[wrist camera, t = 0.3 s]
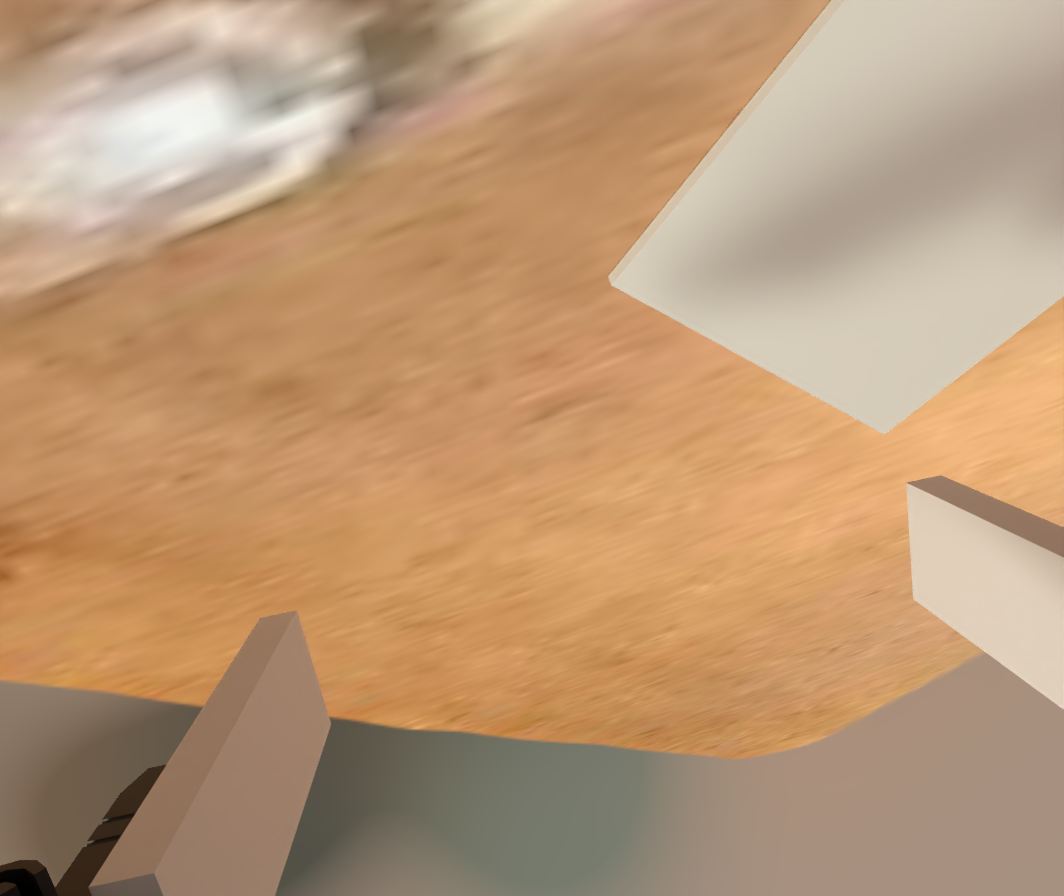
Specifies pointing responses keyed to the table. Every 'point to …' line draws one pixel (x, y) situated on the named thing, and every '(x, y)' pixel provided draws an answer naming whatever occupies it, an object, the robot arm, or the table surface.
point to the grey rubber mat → (877, 204)
